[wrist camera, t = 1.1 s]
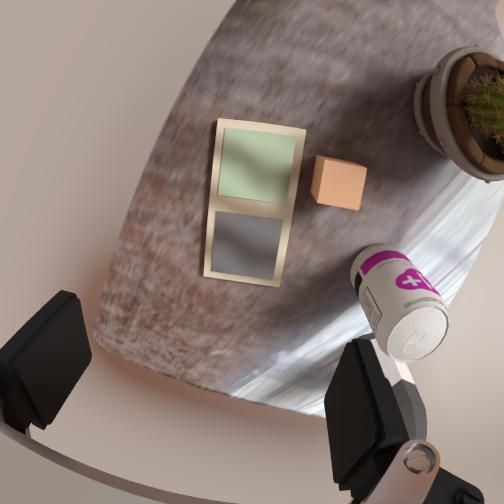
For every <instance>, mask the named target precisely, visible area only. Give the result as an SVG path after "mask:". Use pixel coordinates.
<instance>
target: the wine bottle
mask: <svg viewBox="0 0 504 504" xmlns="http://www.w3.org/2000/svg"><path fill="white" fill-rule="evenodd" d="M359 339H369V340H371V342H372V344H373V347H374V349H375V352H376V354H377V357H378V360H379V362H380V365H381V367H382V370H383V373H384V375H385V377H386V378H387V379H388V380H389V381H390V384H391V386H392V389H393V392H394V394H395V397H396V400H397V403H398V406H399V408H400V411H401V414H402V417H403V420H404V423H405V426H406V429H407V432H408V435H409V438H410V440H415V439H417V440H424V441H426V435H427V417H426V410H425V406H424V404H423V402H422V399H421V397H420V394H419V392H418V390H417V388H416V385H415V383H414V381H413V378H412V376H411V374H410V372H409V370H408V367H407V365H406V363H400V362H397V361H395V360H394V359H393V358H391V357H389V356H387V355H386V354H385V353H384V352H383V351H382V350H381V349H380V348H379V345H378V343H377V341H376V338H375V336H374V333H371V334H367V335H362V336H361V337H360V338H359Z"/></svg>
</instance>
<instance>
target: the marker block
mask: <svg viewBox="0 0 504 504" xmlns="http://www.w3.org/2000/svg"><path fill="white" fill-rule="evenodd" d="M366 172H367V168H365V167H363V166H361V165H358V164H356V163H353V162H349V161H345V160H340V159H335V158H330V157H324V156H319V155H316V161H315V167H314V173H313V179H312V184H311V190H310V192H311V194H312V195H313V197H314V198H315V200H316V202H317V203H320V204H326V205H332V206H338V207H343V208H349V209H354V210H359V206H360V202H361V197H362V192H363V187H364V183H365V177H366Z"/></svg>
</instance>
